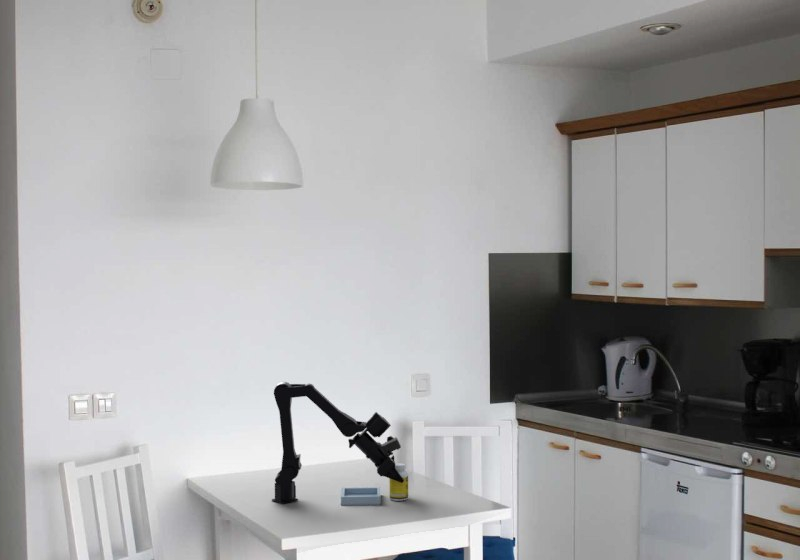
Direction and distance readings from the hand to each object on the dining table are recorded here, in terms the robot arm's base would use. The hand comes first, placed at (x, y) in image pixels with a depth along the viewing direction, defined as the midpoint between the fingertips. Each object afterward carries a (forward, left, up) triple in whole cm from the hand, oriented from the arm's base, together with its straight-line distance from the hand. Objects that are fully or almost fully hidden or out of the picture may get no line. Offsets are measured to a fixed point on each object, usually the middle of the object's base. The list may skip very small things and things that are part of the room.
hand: (402, 479), depth 308 cm
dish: (-10, +10, -7) cm, 16 cm away
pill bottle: (-1, +1, -7) cm, 7 cm away
